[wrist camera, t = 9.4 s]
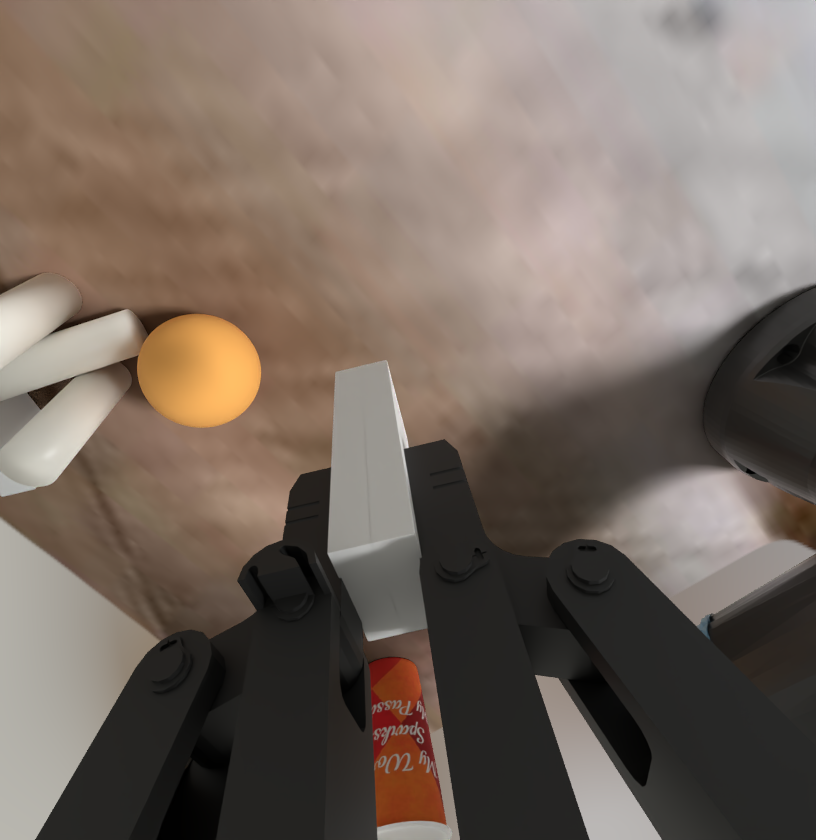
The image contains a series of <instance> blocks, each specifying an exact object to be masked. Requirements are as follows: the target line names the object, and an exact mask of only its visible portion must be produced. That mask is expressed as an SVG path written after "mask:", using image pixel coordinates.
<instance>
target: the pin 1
mask: <svg viewBox="0 0 816 840" xmlns="http://www.w3.org/2000/svg"><path fill="white" fill-rule="evenodd" d="M81 307H82V297H81V294H80V292H79V290H78V288H77V287H76V286H75V285H74V284H73V283H72V282H71V281H70V280H68V279H67V278H65V277H63V276H61V275H59V274H56V273H42V274H39V275H37V276H35V277H33V278H31V279H29V280H27V281H26V282H24V283H22V284H20V285H18V286H16V287H14V288H12V289H10V290H8V291H6V292H4V293H2V294H1V295H0V370H1V369H2V368H3V367H5V366H6V365H8V364H9V363H10V362H12V361H13V360H14V359H16V358H17V357H18V356H20V355H21V354H22V353H24V352H25V351H26V350H28V349H29V348H31V347H32V346H33V345H35V344H36V343H37V342H39V341H40V340H41V339H43V338H44V337H45V336H47V335H48V334H50V333H51V332H52V331H54V330H55V329H56V328H58V327H59V326H60V325H62V324H63V323H64V322H66V321H67V320H69V319H70V318H71V317H73V316H74V315H75V314H77V313H78V312H79V311H80V309H81Z"/></svg>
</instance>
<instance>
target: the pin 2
mask: <svg viewBox="0 0 816 840" xmlns="http://www.w3.org/2000/svg"><path fill="white" fill-rule="evenodd" d="M131 383H132V377H131V374H130V372H129V370H128V369H127V368H126V367H125V366H124V365H123V364H122V363H120V362H117V363H114V364H111V365H108V366H105V367H102V368H99V369H96V370H93V371H90V372H87V373H84V374H81V375H78V376H76V377H75V378H74V379H73V380H72V381H71V382H70V383H68V384H67V385H66V386H65V387H64V388H63V389H62V390H61V391H60V392H59V393H58V394H57V395H56V396H55V397H54V398H53V399H52V400H51V401H50V402H49V403H48V404H47V405H46V406H45V407H44V408H43V409H42V410H41V411H40V412H39V413H37V414H36V415H35V416H34V417H33V418H32V419H31V420H30V421H29V422H28V423H27V424H26V425H25V426H24V427H23V428H22V429H21V430H20V431H19V432H18V433H17V434H16V435H15V436H14V437H13V438H12V439H11V440H10V441H9V442H7V443H6V444H5V445H4V446H3V447H2V448H1V449H0V471H1V472H2V473H3V474H4V475H5V476H7V477H8V478H9V479H11V480H13V481H15V482H17V483H19V484H22V485H26V486H31V487H43V486H47V485H50V484H52V483H53V482H54V481H56V479H57V478H58V477H59V476H60V474H61V473H62V472H63V471H64V469H65V468H66V467H67V466H68V464H69V463H70V462H71V461H72V459H73V458H74V457H75V455H76V454H77V453H78V452H79V450H80V449H81V448H82V447H83V445H84V444H85V443H86V442H87V440H88V439H89V438H90V437H91V435H92V434H93V433H94V432H95V430H96V429H97V428H98V427H99V425H100V424H101V423H102V422H103V420H104V419H105V418H106V417H107V415H108V414H109V413H110V411H111V410H112V409H113V408H114V406H115V405H116V404H117V403H118V401H119V400H120V399H121V398H122V396H123V395H124V394H125V393H126V391H127V390H128V389H129V388H130V386H131Z"/></svg>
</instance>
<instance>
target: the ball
mask: <svg viewBox="0 0 816 840" xmlns="http://www.w3.org/2000/svg"><path fill="white" fill-rule="evenodd" d="M137 375H138V380H139V384H140V387H141V389H142V392H143V393H144V395H145V397H146V399H147V400H148V401H149V403H150V404H151V405H152V406H153V407H154V408H155V409H156V410H157V411H158V412H159V413H160V414H162V415H163V416H164V417H166V418H168V419H170V420H171V421H174V422H176V423H179V424H182V425H185V426H190V427H199V428H203V427H213V426H218V425H221V424H224V423H227V422H229V421H231V420H233V419H235V418H236V417H238V416H239V415H240V414H242V413H243V412H244V411H245V410H246V409H247V408H248V407H249V405H250V404H251V403H252V401H253V400H254V398H255V396H256V394H257V391H258V389H259V385H260V380H261V366H260V361H259V357H258V354H257V352H256V350H255V348H254V346H253V344H252V343H251V341H250V340H249V338H248V337H247V336H246V335H245V334H244V333H243V332H242V331H241V330H240V329H239V328H237V327H236V326H235V325H233V324H232V323H230V322H228V321H226V320H224V319H221V318H218V317H215V316H211V315H206V314H187V315H182V316H178V317H175V318H172V319H170V320H168V321H166V322H164V323H162V324H161V325H160V326H158V327H157V328H156V329H155V330H154V331H152V332H151V334H150V335H149V336H148V337H147V338H146V340H145V342H144V343H143V345H142V348H141V350H140V353H139V357H138V362H137Z"/></svg>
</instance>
